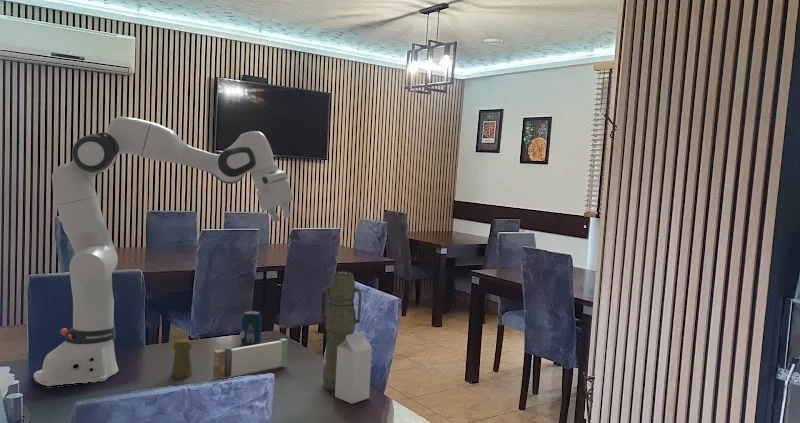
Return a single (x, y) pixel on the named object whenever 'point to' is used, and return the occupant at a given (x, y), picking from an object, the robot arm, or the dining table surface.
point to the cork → (182, 359)
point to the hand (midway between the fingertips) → (282, 219)
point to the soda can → (251, 328)
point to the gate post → (218, 364)
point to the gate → (255, 357)
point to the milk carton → (353, 369)
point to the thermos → (338, 320)
